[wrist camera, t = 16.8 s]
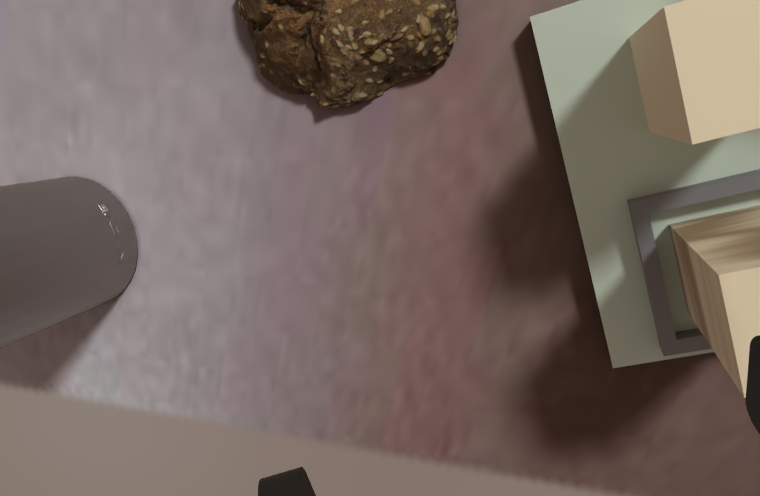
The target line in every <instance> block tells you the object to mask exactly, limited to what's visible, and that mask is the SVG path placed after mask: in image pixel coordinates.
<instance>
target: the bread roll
mask: <svg viewBox="0 0 760 496" xmlns="http://www.w3.org/2000/svg"><path fill="white" fill-rule="evenodd" d="M237 2H238V4H239V7H238V11H239V13H240V15H241V17H242V19H243V20H244V21H245V22H246V24H247V27H248V30H249V37H250V38H251V39H252V41H253V42H254V44H255V48H256V56H257V63H258V66H259V68H260V69H261V73H262V75H263V76H264V77H265V78H266V79H268V80H269V81H271V82H272V83H273V84H274V86H275V87H277V88H279V89H282V90H284V91H285V92H289V93H297V94H309V93H311V96H314V97H316V99H317V101H318V102H317V104H318V106H319V108H320V107H323V106H325V107H328V108H331V109H334V108H340V107H348V106H350V105H353V104H356V103H358V102H362V101H371V100H373V99H374V98H375V97H378V96H381V95H383V92H384V90H387V89H389V88H390V87H392V86H393V85H395V84H397V83H400V82H403V81H406V80H409V79H412V78H415V77H423V76H427V75H430V74H433V73H434V68H435V67H436V66H437V65H438V64H439V63H440V62H441V61H442V60H447V59H448V57H449V55H450V53H451V50H452V47H453V44H454V42H455V41H456V40H457V27H458V21H459V20H458V17H457V11H456V0H237Z"/></svg>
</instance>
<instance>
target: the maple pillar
mask: <svg viewBox="0 0 760 496" xmlns="http://www.w3.org/2000/svg"><path fill="white" fill-rule="evenodd" d="M669 228H670V233H671V238H672V242H673V247H674V251H675V256H676V260H677V265H678V269H679V274H680V279H681V283H682V288H683V292H684V297H685V301H686V306H687V310H688V313H689V315H690V316H691V318H692V319H693V321H694V322H695V324H696V325H697V327H698V328H699V330H700V331H701V333H702V334H703V336H704V337H705V339H706V340H707V342H708V343H709V345H710V346H711V348H712V349H713V351H714V352H715V354H716V355H717V357H718V358H719V360H720V362H721V363H722V365H723V366H724V368H725V369H726V371H727V372H728V374H729V375H730V377H731V378H732V380H733V381H734V383H735V384H736V386H737V387H738V389H739V390H740V392H741V393H742V395H743V396H744V398H746V387H747V375H748V362H749V349H750V343H751V340H752V339H753V338H754V337H755V336H758V335H760V204H759V205H755V206H750V207H746V208H741V209H736V210H732V211H727V212H723V213H718V214H714V215H709V216H705V217H700V218H696V219H691V220H686V221H682V222H677V223H673V224H669Z"/></svg>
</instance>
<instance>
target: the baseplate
mask: <svg viewBox="0 0 760 496" xmlns="http://www.w3.org/2000/svg"><path fill="white" fill-rule="evenodd" d="M530 20H531V24H532V28H533V32H534V37H535V41H536V45H537V49H538V54H539V58H540V62H541V66H542V70H543V75H544V79H545V83H546V87H547V92H548V96H549V100H550V104H551V109H552V113H553V117H554V121H555V125H556V130H557V134H558V138H559V142H560V147H561V151H562V155H563V159H564V163H565V168H566V172H567V176H568V180H569V185H570V189H571V193H572V197H573V202H574V206H575V210H576V214H577V218H578V223H579V227H580V231H581V235H582V240H583V244H584V248H585V252H586V256H587V261H588V265H589V269H590V273H591V278H592V282H593V286H594V290H595V294H596V299H597V303H598V307H599V311H600V316H601V320H602V324H603V328H604V333H605V337H606V341H607V345H608V349H609V354H610V358H611V362H612V366H613V368H618V367H624V366H630V365H637V364H643V363H649V362H655V361H661V360H668V359H674V358H680V357H686V356H693V355H699V354H705V353H711V352H714V351H713V349H712V348H711V346H710V345H709V343H708V342H707V340H706V339H705V337H704V336H703V334H702V333H701V331H700V330H699V328H698V327H697V325H696V324H695V322H694V321H693V319H692V318H691V316H690V315H689V313H688V310H687V306H686V301H685V297H684V292H683V288H682V283H681V279H680V274H679V269H678V265H677V260H676V256H675V251H674V247H673V242H672V238H671V233H670V228H669V224H673V223H677V222H682V221H686V220H691V219H696V218H700V217H705V216H709V215H714V214H718V213H723V212H727V211H732V210H736V209H741V208H746V207H750V206H755V205H759V204H760V0H581V1H578V2H575V3H572V4H568V5H565V6H562V7H559V8H556V9H553V10H550V11H547V12H544V13H541V14H538V15H535V16H531V17H530Z"/></svg>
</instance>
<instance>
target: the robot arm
mask: <svg viewBox="0 0 760 496" xmlns="http://www.w3.org/2000/svg"><path fill="white" fill-rule="evenodd" d="M137 256H138V248H137V238H136V234H135V230H134V226H133V224H132V221H131V219H130V217H129V215H128V213H127V211H126V210H125V208H124V207H123V205H122V204H121V202H120V201H119V200H118V199H117V198H116V197H115V196H114V195H113V194H112V193H111V192H110V191H109V190H107V189H106V188H104V187H103V186H102V185H100V184H98V183H96V182H94V181H91V180H89V179H86V178H80V177H62V178H56V179H49V180H42V181H35V182H28V183H20V184H13V185H6V186H0V348H2V347H5V346H7V345H9V344H11V343H14V342H16V341H18V340H20V339H23V338H25V337H27V336H29V335H32V334H34V333H36V332H39V331H41V330H43V329H45V328H48V327H50V326H52V325H54V324H57V323H59V322H61V321H64V320H66V319H69V318H71V317H73V316H75V315H78V314H80V313H82V312H84V311H87V310H89V309H91V308H93V307H96V306H98V305H100V304H102V303H105V302H107V301H109V300H111V299H113V298H115V297H116V296H118V295H119V294H120V293H121V292H122V291H123V290H124V289H125V288H126V286H127V285H128V283H129V282H130V280H131V279H132V276H133V274H134V271H135V268H136V263H137ZM746 407H747V411H748V414H749V416H750V419H751V421H752V423H753V425H754V426H755V428H756V429H757V431H758V432H759V434H760V335H758V336H755V337H754V338H753V339H752V340H751V343H750V349H749V362H748V375H747V387H746ZM258 496H316V495H315V493H314V490H313V488H312V486H311V483H310V481H309V479H308V476H307V474H306V472H305V470H304V469H303V467H300V468H296V469H293V470H290V471H286V472H283V473H279V474H276V475H272V476H269V477H266V478H262V479H260V481H259V485H258Z"/></svg>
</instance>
